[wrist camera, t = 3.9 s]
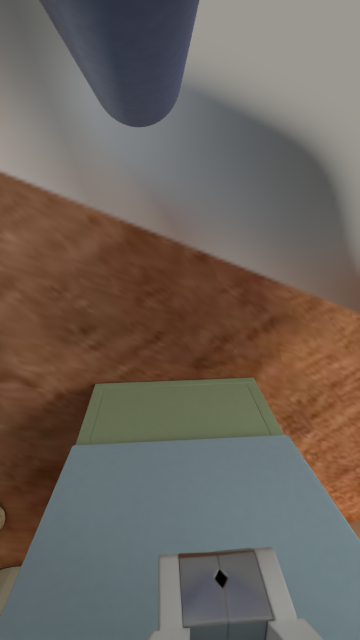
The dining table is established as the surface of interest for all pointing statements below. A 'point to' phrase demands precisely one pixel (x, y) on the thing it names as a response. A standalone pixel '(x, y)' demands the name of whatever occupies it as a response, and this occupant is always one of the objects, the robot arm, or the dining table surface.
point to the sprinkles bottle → (2, 517)
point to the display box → (176, 411)
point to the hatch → (179, 536)
